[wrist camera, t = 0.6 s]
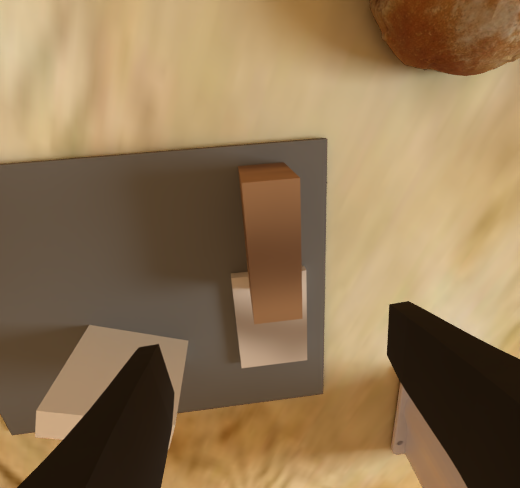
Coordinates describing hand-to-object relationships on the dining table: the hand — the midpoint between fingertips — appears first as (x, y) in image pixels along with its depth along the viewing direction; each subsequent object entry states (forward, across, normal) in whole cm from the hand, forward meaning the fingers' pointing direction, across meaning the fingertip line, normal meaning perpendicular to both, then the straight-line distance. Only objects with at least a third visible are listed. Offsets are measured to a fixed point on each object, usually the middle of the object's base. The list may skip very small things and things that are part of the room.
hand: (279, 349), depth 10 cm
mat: (+10, +7, +4) cm, 12 cm away
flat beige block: (+9, +8, +6) cm, 14 cm away
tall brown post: (+9, -1, +2) cm, 9 cm away
